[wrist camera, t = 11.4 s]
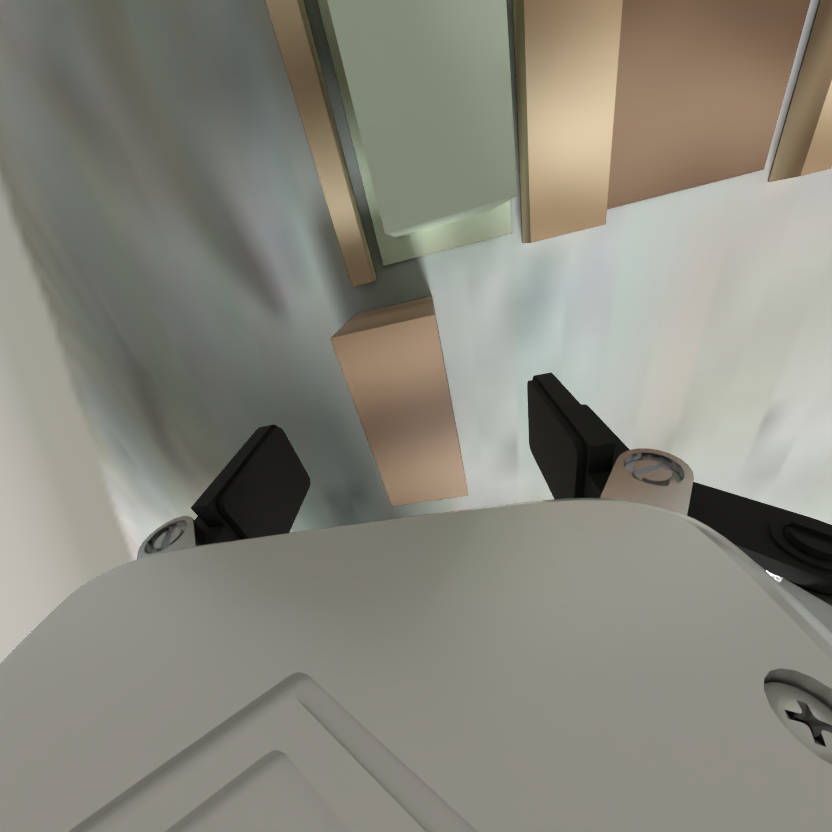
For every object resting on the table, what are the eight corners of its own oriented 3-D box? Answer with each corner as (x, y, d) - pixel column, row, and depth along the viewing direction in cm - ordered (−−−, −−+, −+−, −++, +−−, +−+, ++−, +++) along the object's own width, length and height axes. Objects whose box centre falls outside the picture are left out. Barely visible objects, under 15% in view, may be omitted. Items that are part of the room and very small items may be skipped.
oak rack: (795, 175, 12) (830, 168, 11) (357, 284, 15) (352, 287, 14) (1052, -627, 6) (1187, -816, 5) (213, -204, 8) (183, -268, 7)
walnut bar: (458, 439, 19) (468, 495, 15) (399, 449, 20) (392, 506, 15) (431, 295, 15) (434, 314, 11) (356, 312, 15) (329, 338, 11)
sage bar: (486, 213, 13) (517, 195, 9) (397, 238, 13) (385, 233, 9) (449, -151, 9) (474, -558, 4) (321, -93, 9) (228, -400, 5)
